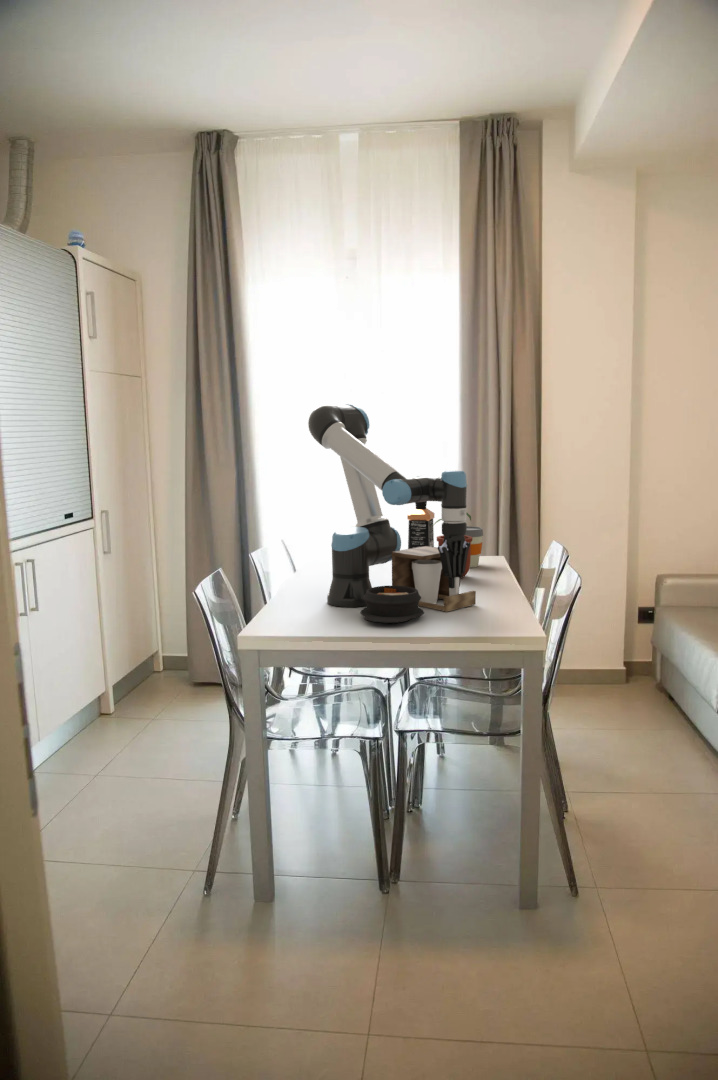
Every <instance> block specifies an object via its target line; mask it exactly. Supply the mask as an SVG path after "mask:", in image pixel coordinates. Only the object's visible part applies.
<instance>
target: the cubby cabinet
mask: <svg viewBox="0 0 718 1080" xmlns="http://www.w3.org/2000/svg"><path fill="white" fill-rule="evenodd" d="M426 559H432V560H439V561H441V557H440V553H439V551H438V546H437V547H435V546H434V547H429V546H424V547H418V548H412V549H408V548H407V549H400V550H399V551H393V552H392V560H391V586H406V587H411V588H415V585H414V577H413V570H412V561H414V560H426ZM438 594H441V595H446V596H449V578H448V577H446V576H444V575H443V569H442V570H441V575H440V583H439V590H438Z"/></svg>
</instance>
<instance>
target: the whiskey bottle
mask: <svg viewBox="0 0 718 1080" xmlns="http://www.w3.org/2000/svg"><path fill="white" fill-rule="evenodd" d="M427 502H428V501H423V502H416V503H414V504H415V508H414V509H413V510H411V512H409V513H408V514H407V520H408V531H407V533H408V538H407V539H408V540H407V549H412V548H418V547H424V546H429V547H435V545H434V543H435V541H434V537H435V535H434V534H435V533H434V526H433V525H434V518H435V513H434V512H433V511H431V510H430V509H429V508H427V505H428V504H427ZM432 526H433V527H432ZM430 529H431V530H430Z"/></svg>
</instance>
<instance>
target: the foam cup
mask: <svg viewBox="0 0 718 1080" xmlns="http://www.w3.org/2000/svg"><path fill="white" fill-rule="evenodd" d="M412 570H413V577H414V585H415V589H417V590H418V593H419V595H420V596H421V599H420V601H422V602H427V603H432V604H437V602H438V590H439V583H440V575H441V570H442V563H441V561H439V560H432V559H426V560H414V561H412Z"/></svg>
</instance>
